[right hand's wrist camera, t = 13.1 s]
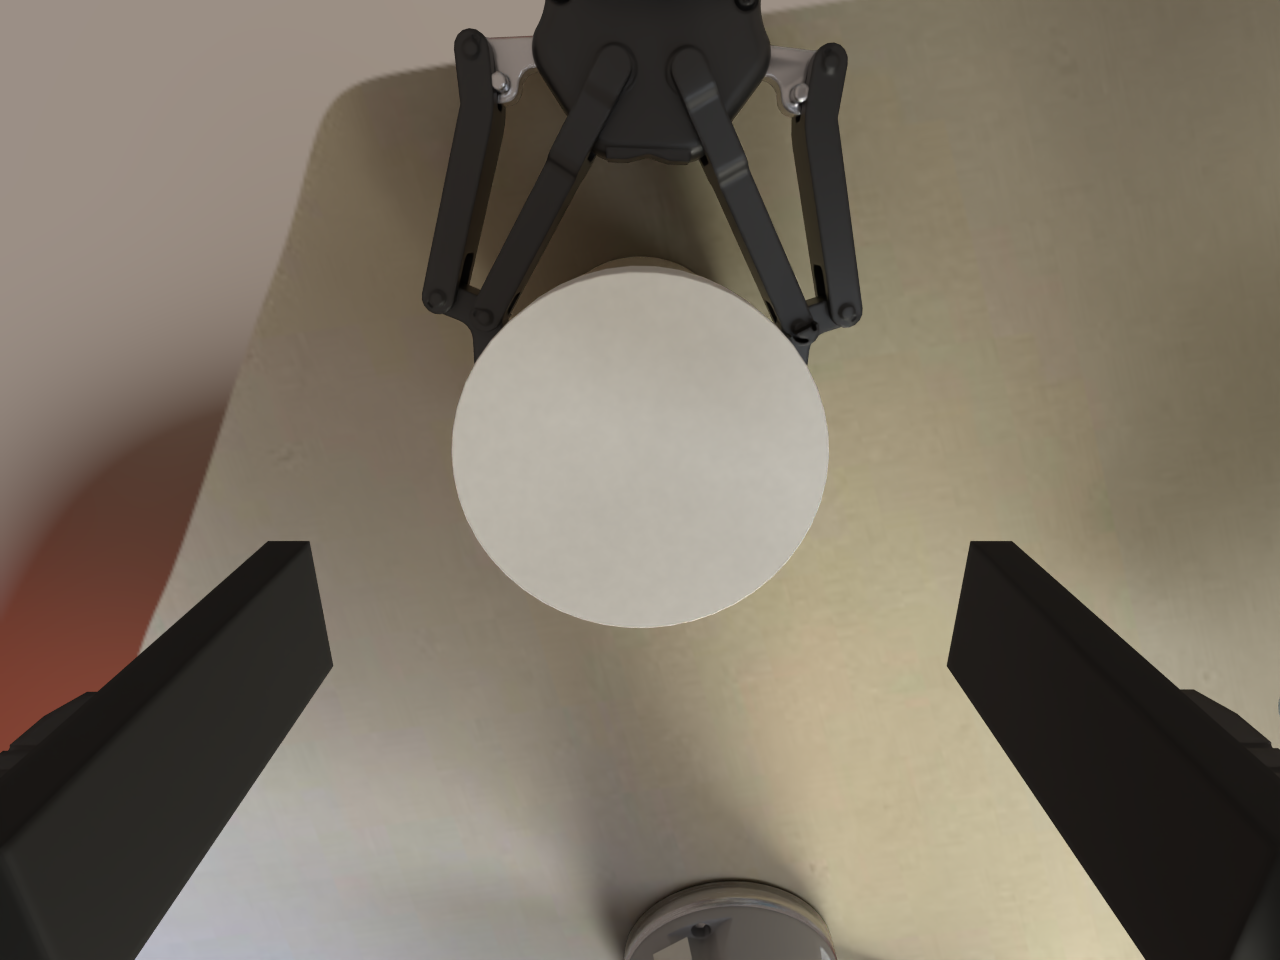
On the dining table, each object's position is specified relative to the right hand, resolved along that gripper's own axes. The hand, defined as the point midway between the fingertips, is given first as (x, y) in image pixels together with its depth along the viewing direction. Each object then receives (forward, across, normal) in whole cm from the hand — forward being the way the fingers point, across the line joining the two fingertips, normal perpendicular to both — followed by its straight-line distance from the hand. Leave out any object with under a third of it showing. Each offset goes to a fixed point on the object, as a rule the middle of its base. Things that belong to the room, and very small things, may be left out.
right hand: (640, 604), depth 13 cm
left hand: (+18, 0, -4) cm, 18 cm away
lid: (+8, 0, 0) cm, 8 cm away
